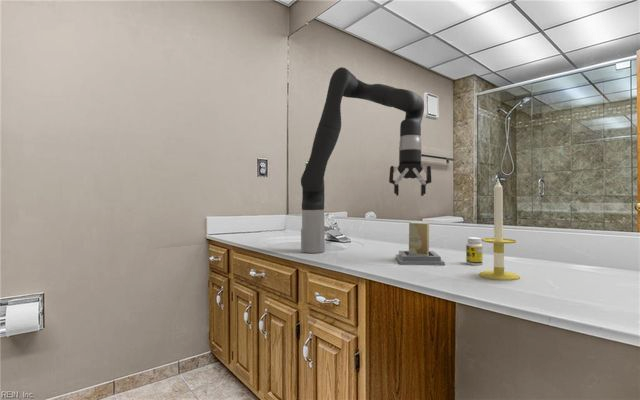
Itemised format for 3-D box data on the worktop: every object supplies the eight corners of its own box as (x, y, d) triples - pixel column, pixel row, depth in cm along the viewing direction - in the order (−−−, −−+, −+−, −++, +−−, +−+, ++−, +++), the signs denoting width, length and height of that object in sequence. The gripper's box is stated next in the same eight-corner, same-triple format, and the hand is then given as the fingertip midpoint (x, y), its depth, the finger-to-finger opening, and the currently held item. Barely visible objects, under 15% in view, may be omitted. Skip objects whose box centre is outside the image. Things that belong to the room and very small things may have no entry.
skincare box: (408, 258, 115) (408, 222, 115) (410, 256, 118) (410, 221, 118) (428, 259, 112) (427, 222, 112) (429, 257, 116) (429, 222, 116)
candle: (502, 281, 85) (501, 176, 85) (470, 274, 95) (469, 178, 95) (528, 277, 89) (527, 176, 89) (495, 270, 99) (494, 178, 99)
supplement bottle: (463, 263, 110) (462, 237, 110) (473, 261, 112) (473, 236, 112) (475, 265, 106) (474, 239, 106) (485, 264, 108) (485, 238, 108)
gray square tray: (400, 264, 109) (400, 256, 109) (395, 257, 123) (395, 250, 123) (444, 265, 107) (444, 257, 107) (435, 257, 121) (435, 250, 121)
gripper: (390, 148, 115) (389, 195, 115) (433, 147, 113) (432, 195, 113) (388, 151, 123) (388, 195, 123) (429, 150, 121) (428, 196, 121)
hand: (409, 195), depth 118 cm, fingers open, 8 cm apart
